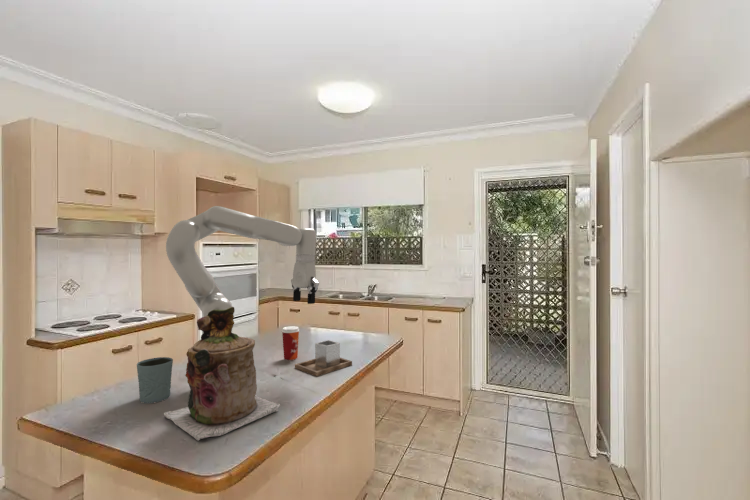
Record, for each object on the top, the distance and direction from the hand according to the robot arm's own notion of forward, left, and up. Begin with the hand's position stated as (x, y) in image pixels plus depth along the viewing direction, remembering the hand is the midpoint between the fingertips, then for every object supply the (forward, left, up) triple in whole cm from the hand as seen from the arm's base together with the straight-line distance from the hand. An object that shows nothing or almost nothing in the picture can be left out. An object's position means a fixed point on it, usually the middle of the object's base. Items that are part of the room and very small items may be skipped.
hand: (303, 302), depth 147 cm
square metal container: (+8, -5, -26) cm, 28 cm away
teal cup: (-49, +14, -27) cm, 58 cm away
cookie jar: (-40, -15, -27) cm, 51 cm away
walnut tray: (+6, -5, -27) cm, 28 cm away
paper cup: (+4, +15, -27) cm, 31 cm away
